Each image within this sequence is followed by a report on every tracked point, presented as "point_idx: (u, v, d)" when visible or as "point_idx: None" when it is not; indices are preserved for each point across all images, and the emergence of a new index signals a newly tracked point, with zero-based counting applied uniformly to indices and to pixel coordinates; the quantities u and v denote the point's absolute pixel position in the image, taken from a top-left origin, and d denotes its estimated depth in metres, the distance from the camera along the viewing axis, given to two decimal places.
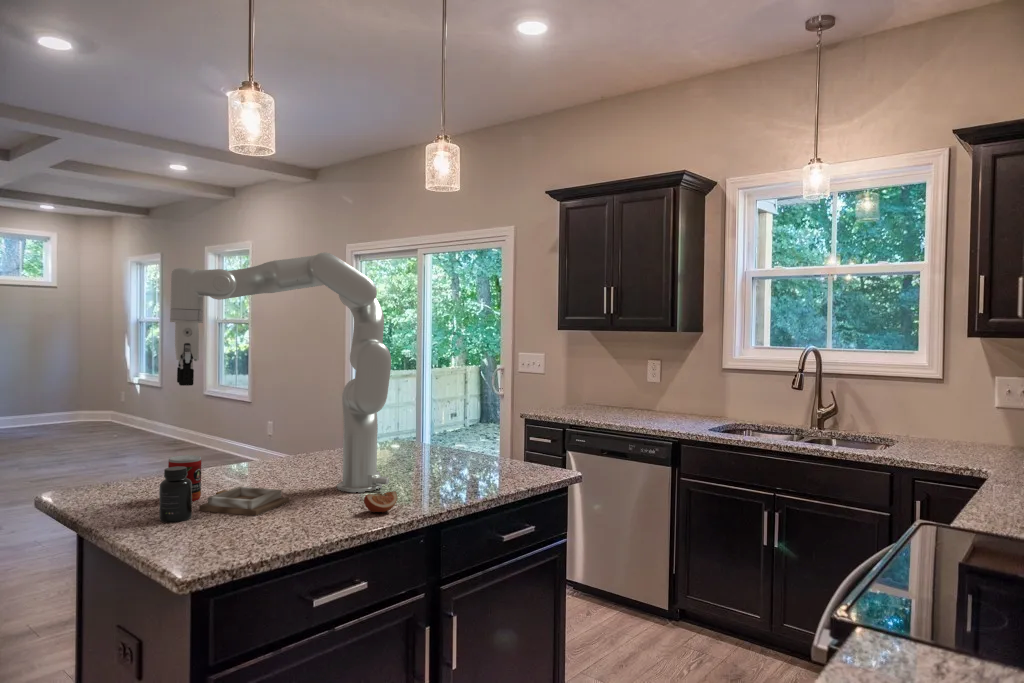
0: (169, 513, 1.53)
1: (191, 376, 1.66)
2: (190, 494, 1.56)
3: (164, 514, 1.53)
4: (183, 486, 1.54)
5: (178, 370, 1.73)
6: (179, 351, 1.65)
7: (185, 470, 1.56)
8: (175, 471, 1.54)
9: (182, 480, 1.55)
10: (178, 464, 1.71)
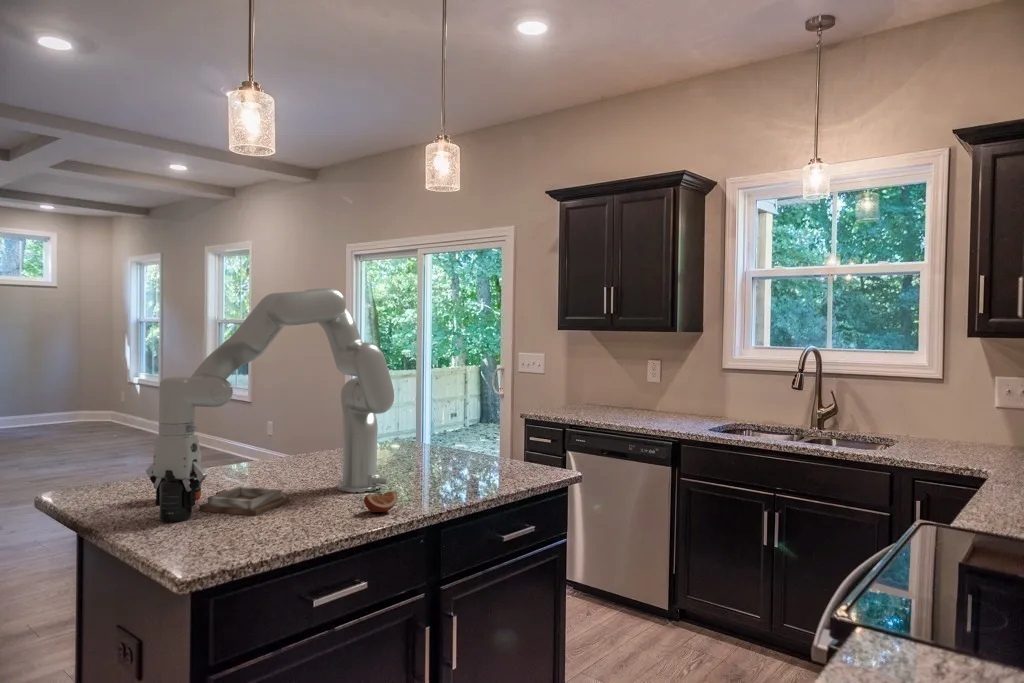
0: (169, 513, 1.53)
1: None
2: None
3: (164, 514, 1.53)
4: (183, 486, 1.54)
5: None
6: (189, 469, 1.53)
7: None
8: None
9: None
10: None
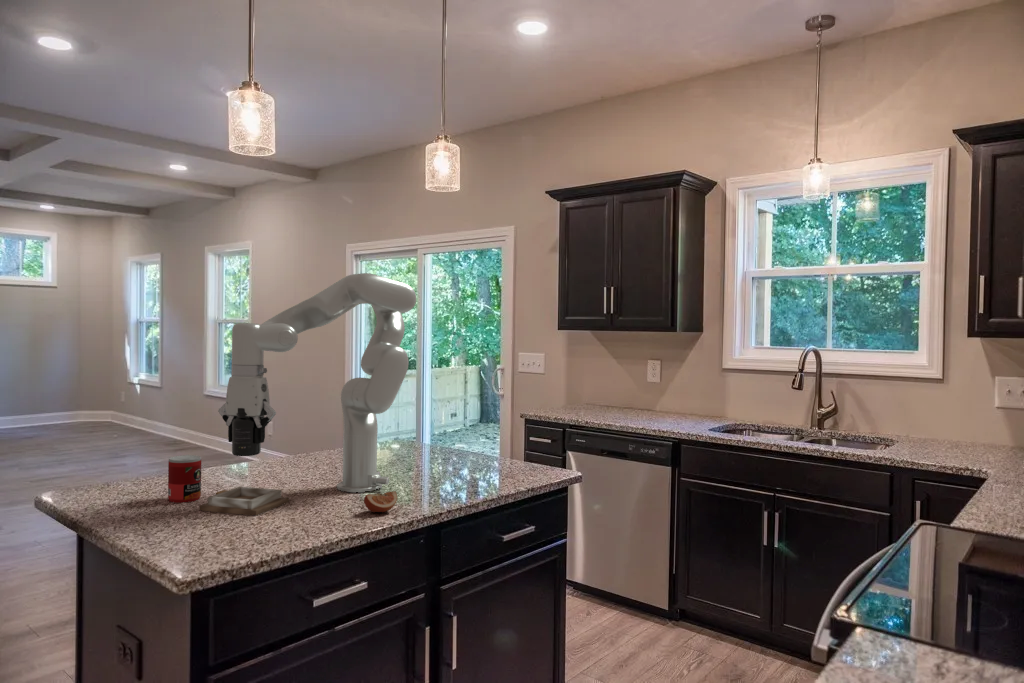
0: (242, 447, 1.65)
1: None
2: None
3: (237, 448, 1.66)
4: (254, 423, 1.67)
5: (231, 429, 1.68)
6: (260, 407, 1.66)
7: None
8: None
9: None
10: (178, 464, 1.71)
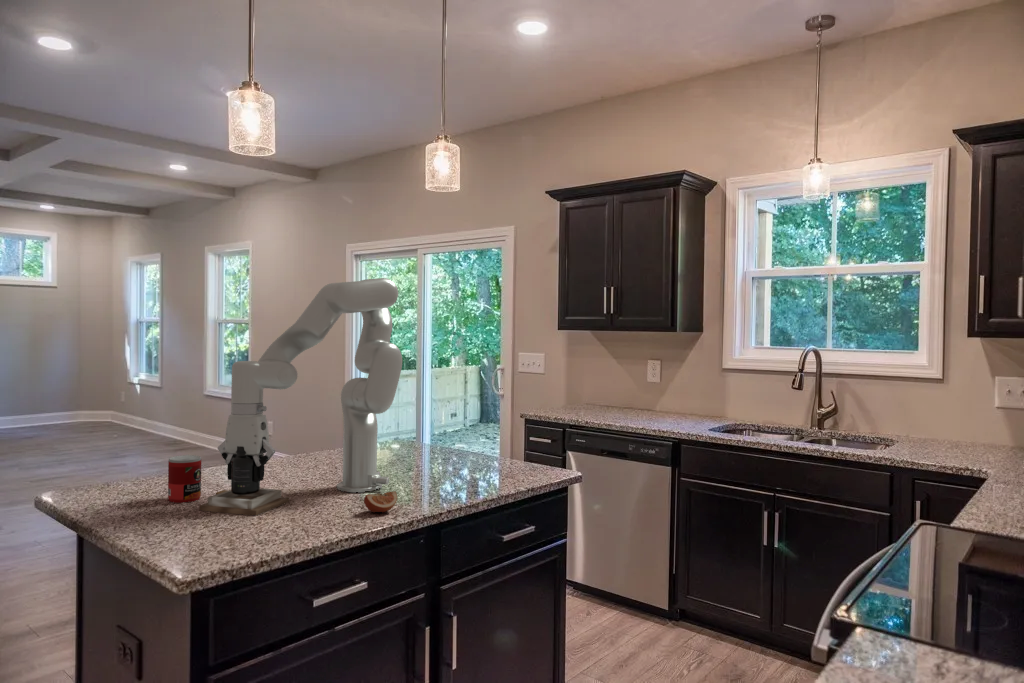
0: (241, 486, 1.65)
1: None
2: None
3: (236, 487, 1.66)
4: (253, 461, 1.67)
5: (230, 467, 1.68)
6: (259, 446, 1.66)
7: None
8: None
9: None
10: (178, 464, 1.71)
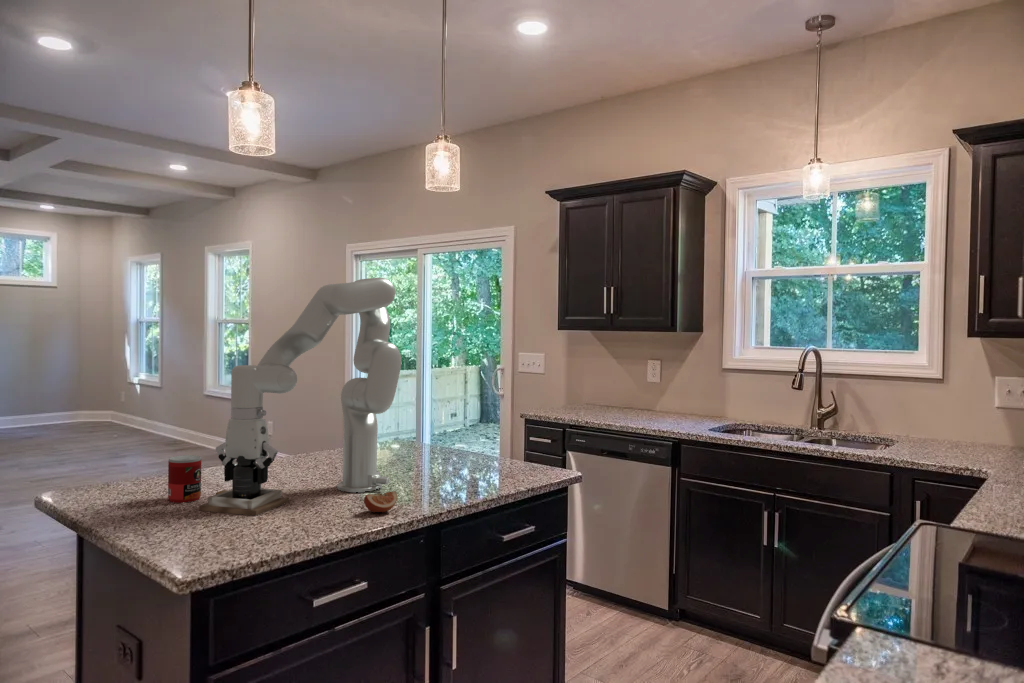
0: (242, 495, 1.66)
1: None
2: None
3: (237, 496, 1.66)
4: (254, 471, 1.67)
5: (227, 468, 1.69)
6: (259, 450, 1.66)
7: None
8: None
9: (253, 465, 1.68)
10: (178, 464, 1.71)
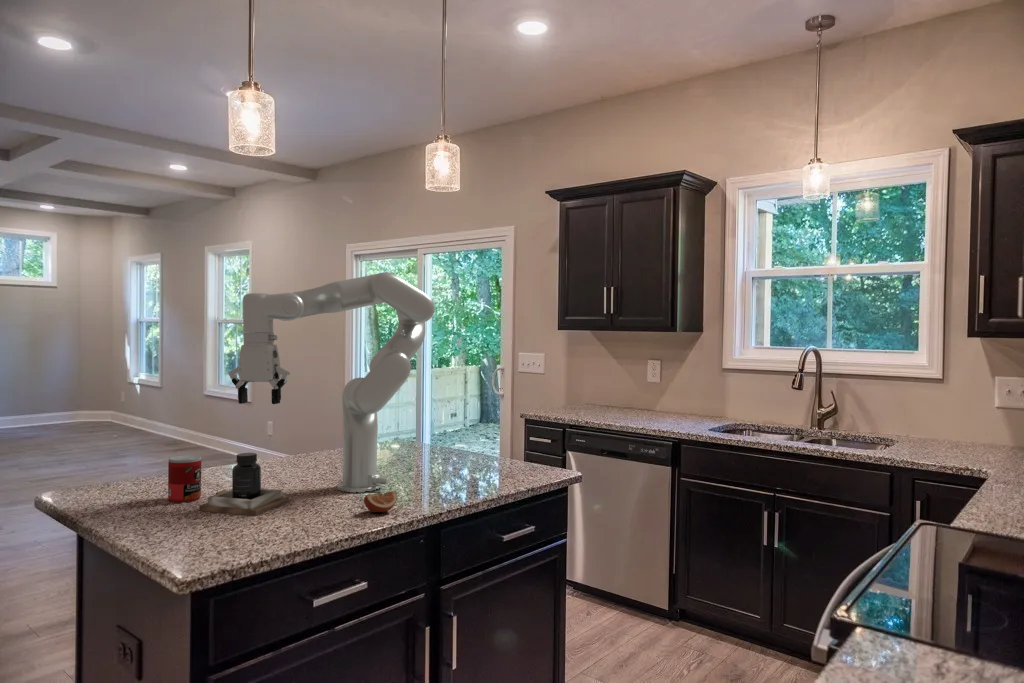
0: (242, 495, 1.66)
1: None
2: (260, 478, 1.69)
3: (237, 496, 1.66)
4: (254, 471, 1.67)
5: (241, 391, 1.78)
6: (272, 372, 1.76)
7: (255, 456, 1.69)
8: (247, 456, 1.67)
9: (253, 465, 1.68)
10: (178, 464, 1.71)
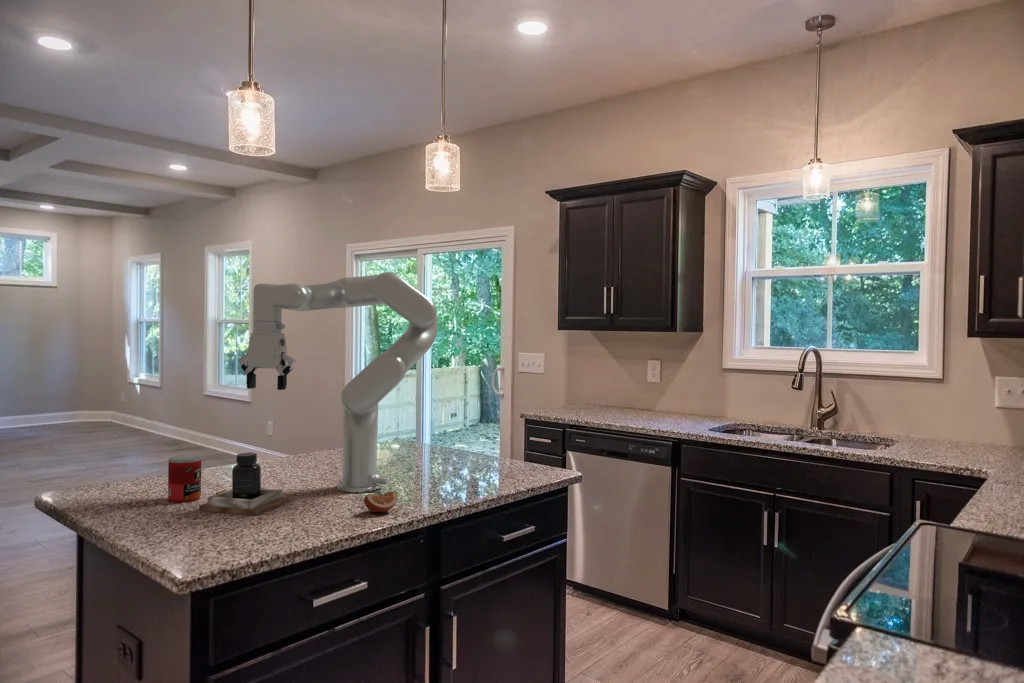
0: (242, 495, 1.66)
1: None
2: (260, 478, 1.69)
3: (237, 496, 1.66)
4: (254, 471, 1.67)
5: (249, 377, 1.86)
6: (278, 359, 1.84)
7: (255, 456, 1.69)
8: (247, 456, 1.67)
9: (253, 465, 1.68)
10: (178, 464, 1.71)
